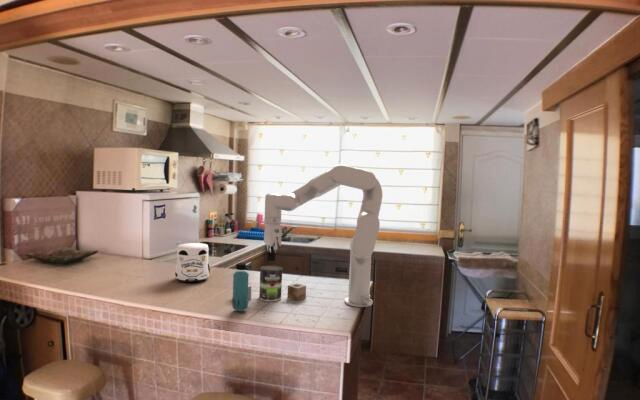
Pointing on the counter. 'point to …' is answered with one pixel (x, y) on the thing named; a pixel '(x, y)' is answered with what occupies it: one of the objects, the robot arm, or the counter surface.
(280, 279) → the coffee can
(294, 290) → the walnut dotted block
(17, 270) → the counter surface
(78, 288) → the counter surface
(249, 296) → the grey dotted block
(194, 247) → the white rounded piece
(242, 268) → the beverage bottle
